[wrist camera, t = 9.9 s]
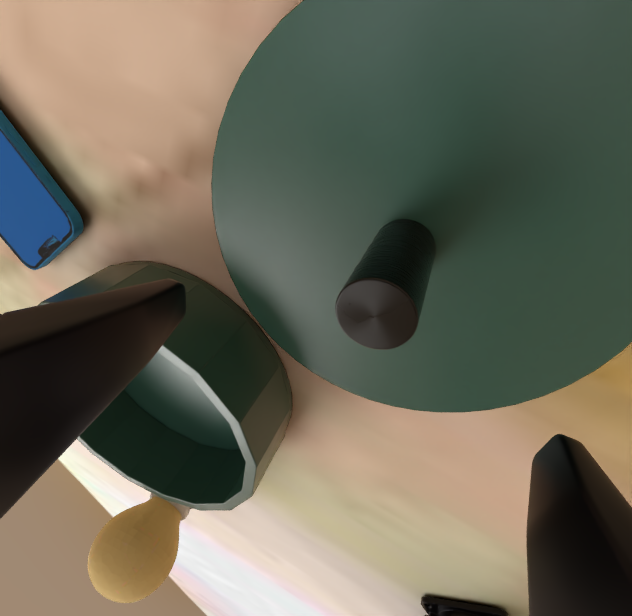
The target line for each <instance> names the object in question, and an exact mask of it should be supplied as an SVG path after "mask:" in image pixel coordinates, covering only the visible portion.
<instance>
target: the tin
mask: <svg viewBox="0 0 632 616" xmlns="http://www.w3.org/2000/svg"><path fill="white" fill-rule="evenodd" d="M168 278H169V279H173V280H176V281H178V282H181V283H182V284H184V286H185V289H186V313H185V316H184V318H183V319H182V320H181V322H180V323H179V324H178V326H177V327H176V328H175V330H174V331H173V332H172V333H171V335H170V336H169V337H168V339H167V340H166V341H165V343H164V344H163V345H162V347H161V348H160V349H159V350H158V352H157V353H156V354H155V356H154V357H153V358H152V359H151V361H150V362H149V363H148V364H147V365H146V366H145V367H144V368H143V370H142V371H141V372H140V373H139V374H138V375H137V376H136V377H135V378H134V379H133V380H132V381H131V382H130V383H129V384H128V385H127V386H126V387H125V388H124V390H123V391H122V392H121V393H120V394H119V395H118V396H117V397H116V398H115V399H114V400H113V401H112V402H111V403H110V404H109V405H108V406H107V407H106V408H105V409H104V411H103V412H102V413H101V414H100V415H99V416H98V417H97V418H96V419H95V420H94V421H93V422H92V423H91V424H90V425H89V426H88V427H87V428H86V429H85V431H84V432H83V433H82V434H81V435H80V436H79V437H78V438H77V439H78V440H79V441H80V442H81V443H82V444H83V445H84V446H85V447H86V448H87V449H88V450H89V451H90V452H92V454H93V455H95V456H96V457H97V458H99V459H100V460H101V461H103V462H104V463H105V464H107V465H108V466H109V467H111V468H112V469H113V470H115V471H116V472H118V473H119V474H120V475H122V476H123V477H124V478H126V479H127V480H129V481H131V482H133V483H134V484H136V485H138V486H140V487H142V488H144V489H146V490H148V491H150V492H151V493H153V494H155V495H157V496H159V497H161V498H163V499H165V500H168V501H171V502H175V503H178V504H181V505H184V506H188V507H191V508H194V509H197V510H232V509H233V508H235V507H236V506H238V505H239V504H241V503H242V502H244V501H245V500H247V499H248V498H250V497H251V496H252V495H253V494H254V492H255V490H256V488H257V486H258V484H259V483H260V481H261V479H262V477H263V475H264V473H265V471H266V470H267V468H268V466H269V464H270V462H271V460H272V458H273V457H274V455H275V453H276V451H277V449H278V447H279V445H280V443H281V442H282V440H283V438H284V436H285V431H286V428H287V426H288V423H289V420H290V417H291V410H292V394H291V389H290V384H289V380H288V377H287V374H286V372H285V369H284V366H283V364H282V362H281V360H280V358H279V356H278V354H277V352H276V351H275V349H274V348H273V346H272V345H271V343H270V341H269V340H268V338H267V337H266V336H265V335H264V333H263V332H262V331H261V330H260V328H259V327H258V326H257V324H256V323H255V322H254V321H253V320H252V319H251V318H250V317H249V316H248V315H247V314H246V313H245V312H244V311H243V310H242V309H241V308H240V307H239V306H237V305H236V304H235V303H234V302H233V301H232V300H231V299H229V298H228V297H227V296H225V295H224V294H223V293H221V292H220V291H218V290H217V289H216V288H214V287H213V286H211V285H209V284H208V283H206V282H204V281H203V280H201V279H199V278H197V277H195V276H193V275H191V274H189V273H187V272H184V271H182V270H180V269H177V268H174V267H171V266H168V265H164V264H159V263H154V262H142V261H134V262H126V263H122V264H119V265H111V266H108V267H107V268H105V269H103V270H101V271H99V272H97V273H95V274H93V275H92V276H90V277H88V278H86V279H84V280H82V281H80V282H78V283H76V284H75V285H73V286H71V287H69V288H67V289H65V290H63V291H61V292H60V293H58V294H56V295H54V296H52V297H50V298H48V299H46V300H44V301H43V302H41V303H40V304H39V305H44V304H49V303H53V302H58V301H63V300H68V299H72V298H77V297H82V296H87V295H91V294H96V293H101V292H106V291H110V290H115V289H120V288H125V287H129V286H134V285H139V284H143V283H148V282H153V281H158V280H162V279H168ZM39 305H38V306H39Z"/></svg>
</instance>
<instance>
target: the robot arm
mask: <svg viewBox="0 0 632 616" xmlns="http://www.w3.org/2000/svg"><path fill="white" fill-rule="evenodd" d="M185 313H186V289H185V286H184V284H182V283H181V282H178V281H176V280H173V279H169V278H168V279H162V280H158V281H153V282H148V283H143V284H139V285H134V286H129V287H125V288H120V289H115V290H110V291H106V292H101V293H96V294H91V295H87V296H82V297H77V298H72V299H68V300H63V301H58V302H53V303H49V304H44V305H39V306H34V307H30V308H25V309H20V310H15V311H11V312H6V313H4V314H3V315H2V314H0V518H2V517H3V515H4V514H6V512H7V511H8V510H9V509H10V508H11V507H12V506H13V505H14V504H15V503H16V502H17V501H18V500H19V499H20V498H21V497H22V496H23V495H24V494H25V492H26V491H27V490H28V489H29V488H30V487H31V486H32V485H33V484H34V483H35V482H36V481H37V480H38V479H39V478H40V477H41V476H42V475H43V474H44V473H45V471H46V470H47V469H48V468H49V467H50V466H51V465H52V464H53V463H54V462H55V461H56V460H57V459H58V458H59V457H60V456H61V455H62V454H63V453H64V452H65V450H66V449H67V448H68V447H69V446H70V445H71V444H72V443H73V442H74V441H75V440H76V439H77V438H78V437H79V436H80V435H81V434H82V433H83V432H84V431H85V429H86V428H87V427H88V426H89V425H90V424H91V423H92V422H93V421H94V420H95V419H96V418H97V417H98V416H99V415H100V414H101V413H102V412H103V411H104V409H105V408H106V407H107V406H108V405H109V404H110V403H111V402H112V401H113V400H114V399H115V398H116V397H117V396H118V395H119V394H120V393H121V392H122V391H123V390H124V388H125V387H126V386H127V385H128V384H129V383H130V382H131V381H132V380H133V379H134V378H135V377H136V376H137V375H138V374H139V373H140V372H141V371H142V370H143V368H144V367H145V366H146V365H147V364H148V363H149V362H150V361H151V359H152V358H153V357H154V356H155V354H156V353H157V352H158V350H159V349H160V348H161V347H162V345H163V344H164V343H165V341H166V340H167V339H168V337H169V336H170V335H171V333H172V332H173V331H174V330H175V328H176V327H177V326H178V324H179V323H180V322H181V320H182V319H183V318H184V316H185ZM527 566H528V593H529V616H632V507H631V506H630V505H629V503H628V502H627V501H626V500H625V498H624V497H623V496H622V494H621V493H620V492H619V491H618V489H617V488H616V487H615V485H614V484H613V483H612V482H611V480H610V479H609V478H608V476H607V475H606V474H605V472H604V471H603V470H602V469H601V467H600V466H599V465H598V463H597V462H596V461H595V460H594V458H593V457H592V456H591V454H590V453H589V452H588V451H587V449H586V448H585V447H584V446H583V444H582V443H581V442H579V441H577V440H575V439H572V438H570V437H567V436H565V435H562V434H557V435H555V436H554V437H552V438H551V439H550V440H549V441H548V442H547V443H546V444H545V445H544V447H543V448H542V449H541V450H540V451H539V452H538V453H537V454H536V455H535V457H534V459H533V462H532V470H531V482H530V494H529V506H528V518H527ZM421 605H422V606H423V608H424V609H425V611H426V612H427V613H428V615H425V616H508V614H507V613H506V612H505V611H504V610H502V609H498V608H493V607H487V606H480V605H474V604H468V603H462V602H456V601H450V600H443V599H437V598H431V597H422V598H421Z"/></svg>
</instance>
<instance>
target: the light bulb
mask: <svg viewBox="0 0 632 616" xmlns="http://www.w3.org/2000/svg"><path fill="white" fill-rule="evenodd" d="M190 509H192V508H191V507H188V506H184V505H181V504H178V503H175V502H171V501H168V500H165V499H163V498H161V497H159V496H157V495H155V494H153V493H151V495H150V500H148V501H147V502H145V503H142V504H139V505H137V506H134V507H132V508H129V509H127V510H125V511H123V512H121V513H119V514H118V515H116V516H115V517H113V518H112V519H111V520H110V521H109V522H108V523H107V524H106V525H105V526H104V527H103V528H102V530H101V531H100V532H99V534H98V535H97V537H96V538H95V540H94V542H93V544H92V546H91V550H90V553H89V557H88V573H89V576H90V579H91V582H92V583H93V586H94V587H95V589H96V590H97V591H98V592H99V593H100V594H101V595H102V596H104V597H106V598H107V599H110V600H112V601H115V602H120V603H132V602H136V601H139V600H142V599H144V598H146V597H147V596H148V595H150V594H151V593H153V592H154V591H155V590H156V589H157V588H158V587H159V586H160V585H161V584H162V583H163V581H164V580H165V579H166V578H167V576H168V575H169V573H170V571H171V569H172V567H173V564H174V562H175V559H176V556H177V551H178V543H179V524H180V521H181V520H184V519H185V518H186V517H187V515H188V514H189V511H190Z"/></svg>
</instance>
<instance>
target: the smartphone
mask: <svg viewBox="0 0 632 616" xmlns="http://www.w3.org/2000/svg"><path fill="white" fill-rule="evenodd" d="M82 231H83V221H82V218H81V216H80V214H79V212H78V211H77V209H76V208H75V207H74V205H73V204H72V203H71V202H70V200H69V199H68V198H67V196H66V195H65V194H64V192H63V191H62V190H61V188H60V187H59V186H58V184H57V183H56V182H55V181H54V179H53V178H52V177H51V175H50V174H49V173H48V171H47V170H46V169H45V167H44V166H43V165H42V163H41V162H40V161H39V160H38V158H37V157H36V156H35V154H34V153H33V152H32V150H31V149H30V148H29V146H28V145H27V144H26V142H25V141H24V140H23V138H22V137H21V136H20V135H19V133H18V132H17V131H16V129H15V128H14V127H13V125H12V124H11V123H10V121H9V120H8V119H7V117H6V116H5V115H4V114H3V112H2V111H1V110H0V237H1V238H2V239H3V240H4V241H5V243H6V244H7V245H8V246H9V247H10V249H11V250H12V251H13V252H14V253H15V254H16V256H17V257H18V258H19V259H20V260H21V262H22V263H23V264H25V265H26V266H27V267H28V268H30V269H33V270H37V269H39V268H42V267H44V266H47V265H48V264H49V263H50V262H51V261H52V260H53V259H54V258H55V257H56V256H57V255H58V254H59V253H61V252H62V251H63V250H64V249H65V248H66V247H67V246H68V245H69V244H70V243H71V242H72V241H74V240H75V239H76V238H77V237H78V236H79V235H80V234H81V233H82Z"/></svg>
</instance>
